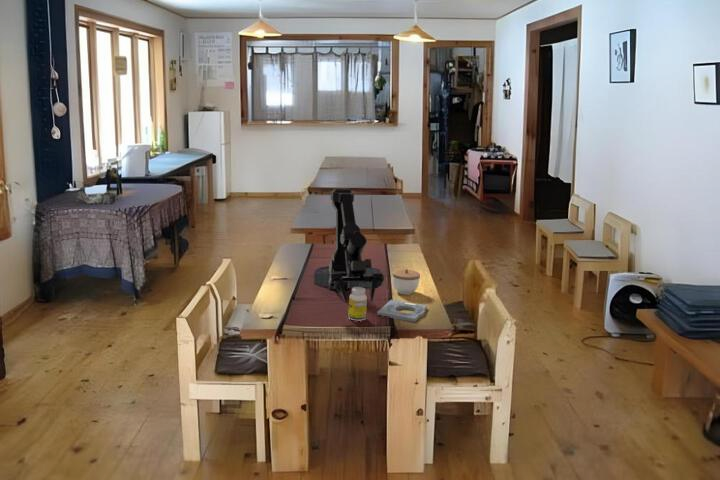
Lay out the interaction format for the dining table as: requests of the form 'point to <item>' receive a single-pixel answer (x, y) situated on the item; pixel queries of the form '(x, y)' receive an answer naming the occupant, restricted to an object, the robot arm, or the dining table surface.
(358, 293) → the pill bottle
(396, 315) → the socket board
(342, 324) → the dining table surface
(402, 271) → the lidded jar
